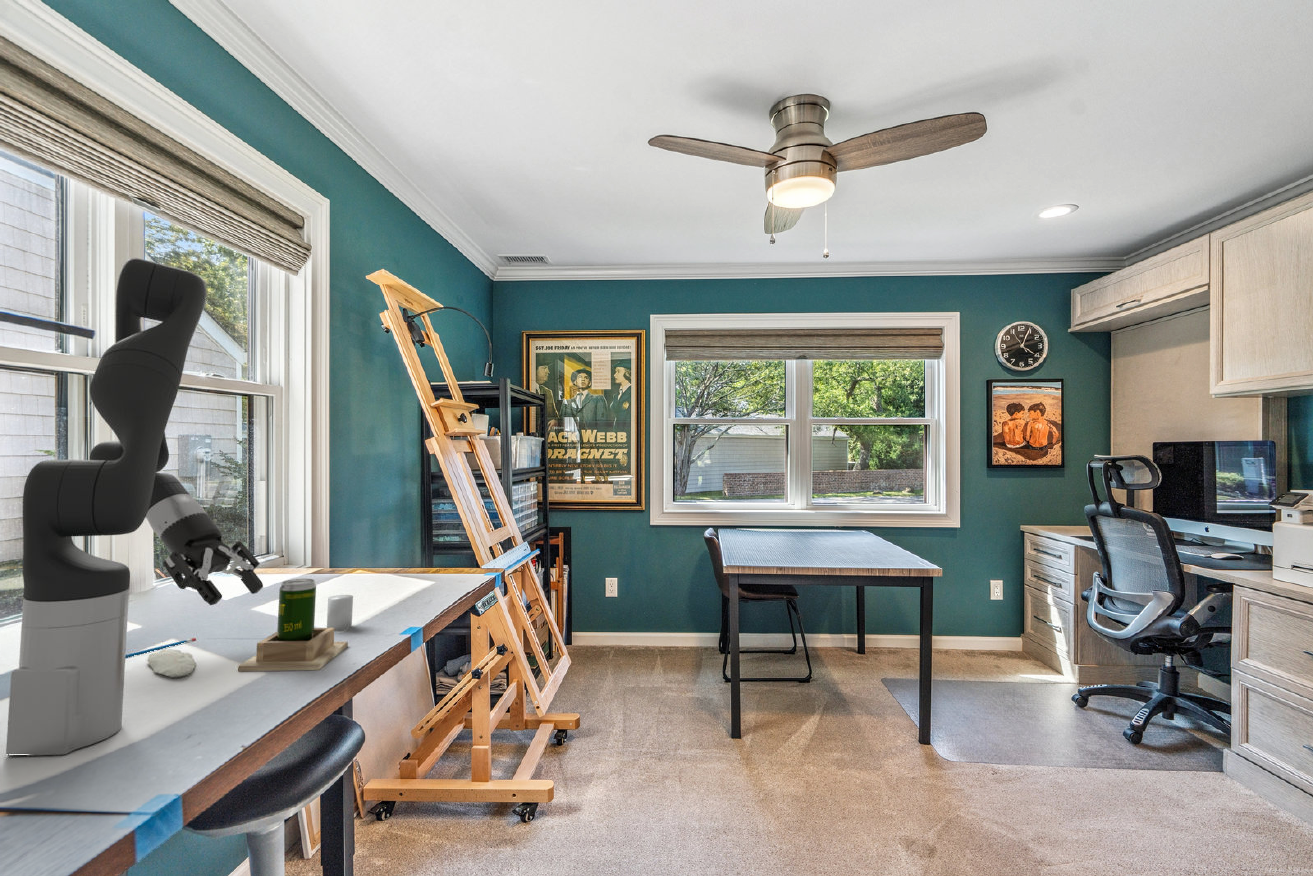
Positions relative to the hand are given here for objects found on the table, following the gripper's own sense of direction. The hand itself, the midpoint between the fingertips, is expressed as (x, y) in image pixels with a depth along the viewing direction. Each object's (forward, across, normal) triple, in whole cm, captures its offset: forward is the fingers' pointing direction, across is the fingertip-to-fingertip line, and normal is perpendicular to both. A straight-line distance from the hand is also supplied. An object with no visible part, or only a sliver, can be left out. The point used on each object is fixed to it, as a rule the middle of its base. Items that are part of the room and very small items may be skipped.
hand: (238, 595), depth 103 cm
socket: (+15, 0, -1) cm, 15 cm away
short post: (+12, +17, +2) cm, 21 cm away
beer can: (+14, 0, -2) cm, 14 cm away
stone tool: (+5, -8, +10) cm, 13 cm away
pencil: (-3, -4, +18) cm, 18 cm away
